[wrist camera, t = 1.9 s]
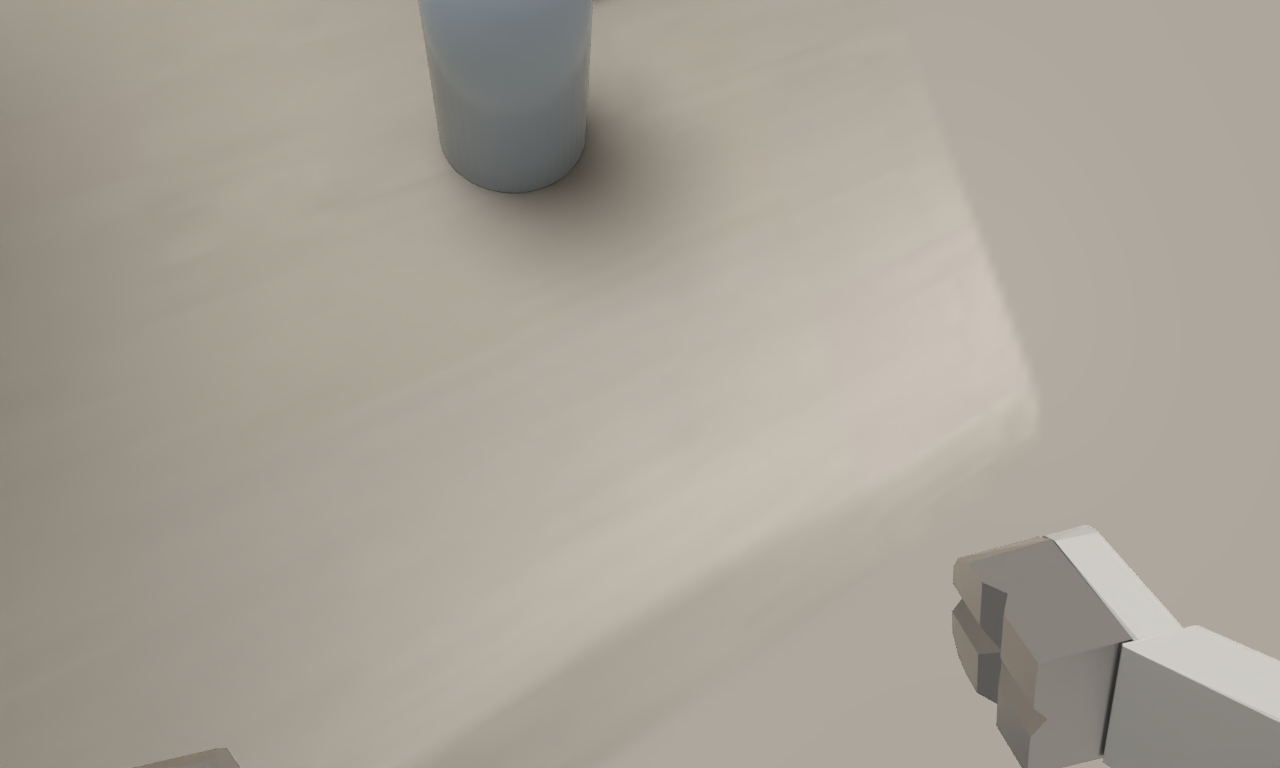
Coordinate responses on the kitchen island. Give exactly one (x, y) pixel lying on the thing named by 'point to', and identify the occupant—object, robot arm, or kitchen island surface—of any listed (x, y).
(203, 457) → the kitchen island surface
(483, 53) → the pale blue cylinder
